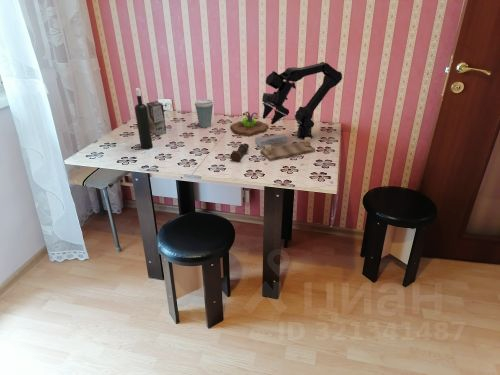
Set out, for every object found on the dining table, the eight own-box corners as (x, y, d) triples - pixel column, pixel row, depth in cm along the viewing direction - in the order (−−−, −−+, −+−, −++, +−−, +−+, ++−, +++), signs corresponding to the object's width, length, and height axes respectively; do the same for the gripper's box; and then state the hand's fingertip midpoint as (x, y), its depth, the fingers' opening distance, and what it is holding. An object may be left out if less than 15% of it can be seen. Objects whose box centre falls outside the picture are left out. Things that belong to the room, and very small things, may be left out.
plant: (224, 130, 211) (223, 111, 205) (247, 121, 223) (247, 103, 218) (250, 139, 199) (250, 119, 193) (273, 129, 211) (273, 110, 206)
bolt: (247, 153, 187) (237, 164, 175) (239, 147, 187) (228, 158, 175) (253, 144, 184) (242, 155, 172) (244, 138, 184) (233, 149, 172)
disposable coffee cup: (192, 126, 215) (190, 101, 208) (204, 121, 223) (202, 96, 216) (206, 130, 210) (204, 104, 203) (218, 124, 218) (217, 99, 210)
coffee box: (167, 133, 207) (163, 104, 199) (156, 135, 204) (152, 106, 196) (160, 128, 213) (156, 100, 205) (149, 130, 210) (145, 102, 202)
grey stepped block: (282, 138, 199) (282, 133, 198) (287, 142, 194) (288, 136, 193) (255, 143, 193) (255, 137, 192) (260, 147, 189) (260, 142, 187)
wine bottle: (146, 144, 193) (137, 86, 178) (155, 146, 191) (146, 87, 176) (138, 148, 189) (128, 89, 174) (147, 150, 187) (138, 90, 172)
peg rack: (304, 144, 191) (304, 134, 189) (315, 151, 183) (315, 141, 181) (260, 153, 182) (260, 142, 180) (269, 161, 174) (269, 150, 172)
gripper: (261, 81, 186) (247, 109, 190) (279, 90, 171) (263, 121, 175) (278, 90, 192) (263, 118, 196) (296, 100, 178) (280, 129, 181)
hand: (267, 121), depth 187 cm, fingers open, 9 cm apart
